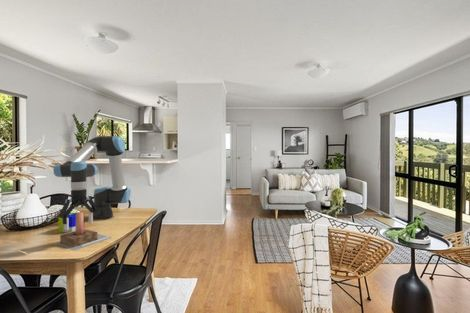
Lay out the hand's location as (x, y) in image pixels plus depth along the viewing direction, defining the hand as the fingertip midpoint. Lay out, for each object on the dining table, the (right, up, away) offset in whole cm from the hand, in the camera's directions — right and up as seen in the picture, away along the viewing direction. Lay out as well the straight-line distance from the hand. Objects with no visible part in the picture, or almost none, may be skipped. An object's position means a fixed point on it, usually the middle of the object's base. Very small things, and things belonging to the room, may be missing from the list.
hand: (79, 226), depth 142 cm
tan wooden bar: (0, -8, 0) cm, 8 cm away
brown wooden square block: (0, -8, 0) cm, 8 cm away
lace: (+9, -8, 0) cm, 13 cm away
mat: (+2, -9, +1) cm, 9 cm away
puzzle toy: (-19, -9, +24) cm, 32 cm away
